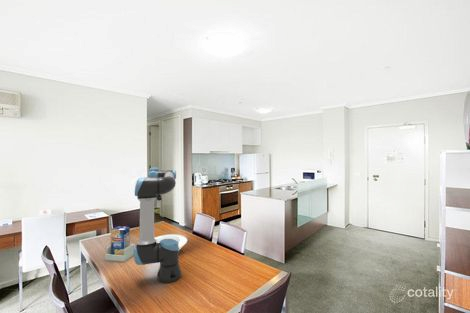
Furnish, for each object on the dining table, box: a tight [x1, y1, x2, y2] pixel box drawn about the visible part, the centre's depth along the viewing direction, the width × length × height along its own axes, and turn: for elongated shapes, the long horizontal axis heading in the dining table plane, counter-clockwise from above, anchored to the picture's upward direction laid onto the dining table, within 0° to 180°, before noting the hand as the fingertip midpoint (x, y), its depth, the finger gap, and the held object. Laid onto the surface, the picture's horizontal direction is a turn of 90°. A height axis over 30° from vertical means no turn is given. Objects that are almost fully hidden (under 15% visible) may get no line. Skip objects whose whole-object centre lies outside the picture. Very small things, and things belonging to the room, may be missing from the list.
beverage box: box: [110, 225, 131, 256], centre depth 164 cm, size 7×11×22 cm, turn 81°
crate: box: [104, 243, 135, 263], centre depth 164 cm, size 16×13×9 cm
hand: (154, 209), depth 186 cm, fingers open, 13 cm apart
